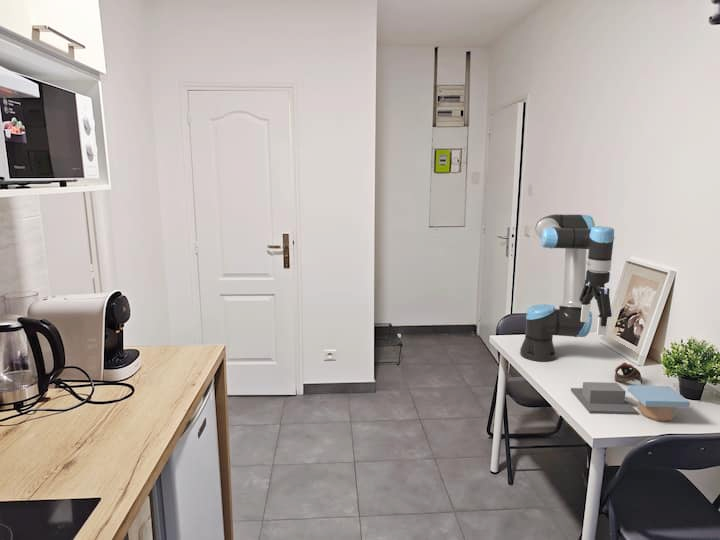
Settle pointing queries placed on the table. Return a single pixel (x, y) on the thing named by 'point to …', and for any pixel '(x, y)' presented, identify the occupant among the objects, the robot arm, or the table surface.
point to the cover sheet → (658, 396)
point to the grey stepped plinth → (603, 398)
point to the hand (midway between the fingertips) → (592, 327)
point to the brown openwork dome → (627, 373)
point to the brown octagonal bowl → (657, 412)
